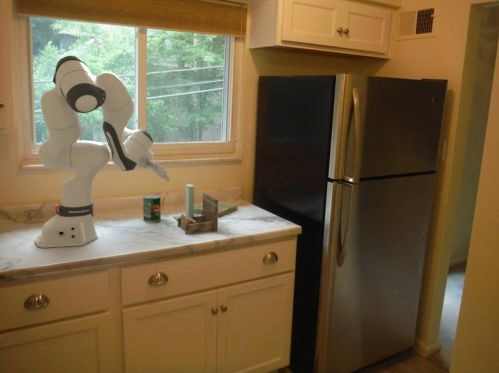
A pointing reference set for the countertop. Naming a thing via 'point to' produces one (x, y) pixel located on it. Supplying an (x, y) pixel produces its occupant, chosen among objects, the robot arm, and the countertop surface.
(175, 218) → the grey mat
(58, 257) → the countertop surface
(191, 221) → the offcut stack
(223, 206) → the decorative tile
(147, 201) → the canned tomato
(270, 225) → the countertop surface
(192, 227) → the walnut rack
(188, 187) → the pale green block
